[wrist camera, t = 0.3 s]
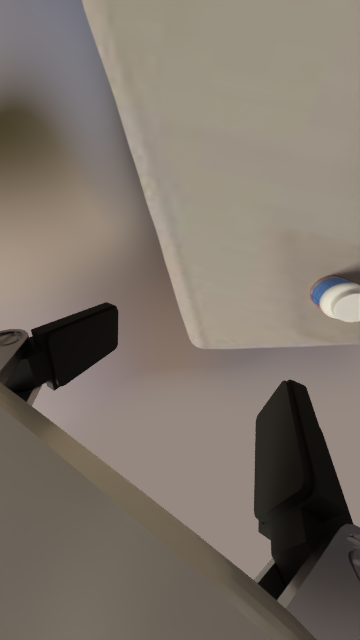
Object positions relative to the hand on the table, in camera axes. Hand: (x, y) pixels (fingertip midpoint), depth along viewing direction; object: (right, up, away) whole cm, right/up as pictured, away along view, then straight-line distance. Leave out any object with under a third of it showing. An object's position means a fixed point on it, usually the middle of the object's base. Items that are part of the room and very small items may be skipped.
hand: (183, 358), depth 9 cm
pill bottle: (+27, +7, +21) cm, 35 cm away
